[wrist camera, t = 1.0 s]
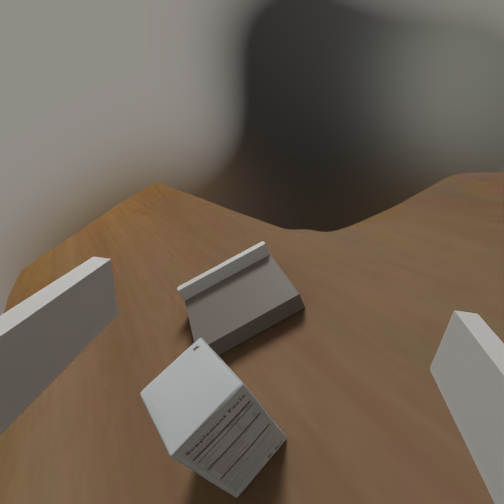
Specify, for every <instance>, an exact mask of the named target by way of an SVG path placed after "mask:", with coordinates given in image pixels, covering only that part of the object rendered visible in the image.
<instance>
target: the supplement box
mask: <svg viewBox="0 0 504 504" xmlns="http://www.w3.org/2000/svg"><path fill="white" fill-rule="evenodd" d="M140 395H141V398H142V400H143V402H144V404H145V406H146V408H147V410H148V412H149V414H150V416H151V418H152V420H153V423H154V425H155V427H156V429H157V431H158V433H159V435H160V437H161V439H162V441H163V443H164V445H165V447H166V449H167V451H168V452H169V455H170V456H171V457H172V458H174V459H176V460H177V461H179V462H180V463H182V464H183V465H185V466H186V467H188V468H190V469H191V470H193V471H194V472H196V473H197V474H199V475H200V476H202V477H203V478H205V479H207V480H208V481H210V482H211V483H213V484H214V485H216V486H218V487H219V488H221V489H222V490H224V491H226V492H227V493H229V494H231V495H232V496H234V497H235V498H238V497H239V495H240V494H241V493H242V492H243V491H244V490H245V488H246V487H247V486H248V485H249V484H250V482H251V481H252V480H253V479H254V478H255V476H256V475H257V474H258V473H259V472H260V471H261V469H262V468H263V467H264V466H265V465H266V463H267V462H268V461H269V460H270V459H271V457H272V456H273V455H274V454H275V453H276V451H277V450H278V449H279V448H280V446H281V445H282V444H283V443H284V442H285V440H286V439H287V437H286V436H285V434H284V433H283V432H282V431H281V429H280V428H279V427H278V426H277V424H276V423H275V422H274V421H273V420H272V418H271V417H270V416H269V415H268V413H267V412H266V411H265V409H264V408H263V407H262V406H261V404H260V403H259V402H258V400H257V399H256V398H255V397H254V395H253V394H252V393H251V391H250V390H249V389H248V388H247V387H246V386H245V385H244V383H243V382H242V381H241V380H240V379H239V378H238V377H237V375H236V374H235V373H234V372H233V371H232V370H231V369H230V368H229V367H228V366H227V365H226V364H225V363H224V361H223V360H222V359H221V358H220V357H219V356H218V355H217V354H216V353H215V352H214V351H213V350H212V349H211V347H210V346H209V345H208V344H207V343H206V342H205V341H204V340H203V339H202V338H199V339H198V340H197V341H196V342H195V343H194V344H192V345H191V346H190V347H189V348H188V349H187V350H186V351H185V352H184V353H182V354H181V355H180V356H179V357H178V358H177V359H176V360H175V361H174V362H173V363H172V364H171V365H169V366H168V367H167V368H166V369H165V370H164V371H163V372H162V373H161V374H160V375H158V376H157V377H156V378H155V379H154V380H153V381H152V382H151V383H150V384H149V385H148V386H146V387H145V388H144V389H143V390H142V392H141V393H140Z"/></svg>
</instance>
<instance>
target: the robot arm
mask: <svg viewBox="0 0 504 504" xmlns="http://www.w3.org/2000/svg"><path fill="white" fill-rule="evenodd" d="M117 316H118V307H117V300H116V293H115V286H114V278H113V271H112V264H111V259H107V258H100V257H92V258H91V259H89V260H87V261H86V262H84V263H83V264H81V265H80V266H78V267H76V268H75V269H73V270H72V271H70V272H69V273H67V274H65V275H64V276H62V277H61V278H59V279H57V280H56V281H54V282H53V283H51V284H50V285H48V286H46V287H45V288H43V289H42V290H40V291H38V292H37V293H35V294H34V295H32V296H31V297H29V298H27V299H26V300H24V301H23V302H21V303H19V304H18V305H16V306H15V307H13V308H12V309H10V310H8V311H7V312H5V313H4V314H2V315H0V435H1V434H2V433H3V432H4V431H5V430H6V429H7V428H8V427H9V426H10V424H11V423H12V422H13V421H14V420H15V419H16V418H17V417H18V416H19V415H20V414H21V413H22V412H23V411H24V410H25V409H26V408H27V407H28V406H29V405H30V404H31V403H32V402H33V401H34V400H35V399H36V398H37V397H38V396H39V395H40V394H41V393H42V392H43V391H44V390H45V389H46V388H47V387H48V386H49V385H50V384H51V383H52V382H53V381H54V380H55V379H56V378H57V377H58V376H59V375H60V374H61V373H62V372H63V371H64V370H65V369H66V367H67V366H68V365H69V364H70V363H71V362H72V361H73V360H74V359H75V358H76V357H77V356H78V355H79V354H80V353H81V352H82V351H83V350H84V349H85V348H86V347H87V346H88V345H89V344H90V343H91V342H92V341H93V340H94V339H95V338H96V337H97V336H98V335H99V334H100V333H101V332H102V331H103V330H104V329H105V328H106V327H107V326H108V325H109V324H110V323H111V322H112V321H113V320H114V319H115V318H116V317H117ZM430 371H431V373H432V375H433V377H434V379H435V381H436V383H437V385H438V387H439V389H440V391H441V394H442V396H443V398H444V400H445V402H446V404H447V406H448V408H449V410H450V412H451V414H452V416H453V418H454V420H455V423H456V425H457V427H458V429H459V431H460V433H461V435H462V437H463V439H464V441H465V443H466V445H467V447H468V449H469V451H470V454H471V456H472V458H473V460H474V462H475V464H476V466H477V468H478V470H479V472H480V474H481V476H482V478H483V480H484V483H485V485H486V487H487V489H488V491H489V493H490V495H491V497H492V499H493V501H494V503H495V504H504V344H503V342H502V341H501V340H500V339H499V338H498V337H497V336H496V334H495V333H494V332H493V331H492V330H491V329H490V328H489V326H488V325H487V324H486V323H485V322H484V321H483V319H482V318H481V317H480V316H479V315H478V314H475V313H469V312H462V311H455V310H454V312H453V314H452V317H451V319H450V321H449V324H448V326H447V329H446V331H445V333H444V336H443V338H442V340H441V343H440V345H439V348H438V350H437V352H436V355H435V357H434V359H433V362H432V364H431V367H430Z"/></svg>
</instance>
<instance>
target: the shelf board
mask: <svg viewBox="0 0 504 504" xmlns="http://www.w3.org/2000/svg"><path fill="white" fill-rule="evenodd" d="M177 290H178V292H179V293H180V295H181V296H182V297H183V299H184V300H185V303H186V307H187V312H188V317H189V321H190V326H191V331H192V335H193V340H194V343H195V342H196V341H197V340H198V339H199V338H202V339H203V340H204V341H205V342H206V343H207V344H208V345H209V346H210V347H211V349H212V350H213V351H214V352H215V353H216V354H217V355H218V356H219V355H221V354H223V353H224V352H226V351H228V350H230V349H232V348H233V347H235V346H237V345H239V344H241V343H242V342H244V341H246V340H248V339H250V338H251V337H253V336H255V335H257V334H259V333H260V332H262V331H264V330H266V329H268V328H269V327H271V326H273V325H275V324H276V323H278V322H280V321H282V320H284V319H285V318H287V317H289V316H291V315H293V314H294V313H296V312H298V311H300V310H302V309H303V308H305V307H304V304H303V302H302V299H301V297H300V295H299V293H298V292H297V290H296V289H295V288H294V286H293V285H292V283H291V282H290V281H289V279H288V278H287V277H286V275H285V274H284V273H283V271H282V270H281V268H280V267H279V266H278V264H277V263H276V262H275V260H274V259H273V258H272V256H271V255H270V253H269V251H268V248H267V246H266V244H265V242H264V241H262V242H260V243H258V244H256V245H255V246H253V247H251V248H249V249H247V250H245V251H243V252H242V253H240V254H238V255H236V256H234V257H232V258H231V259H229V260H227V261H225V262H223V263H221V264H219V265H218V266H216V267H214V268H212V269H210V270H208V271H206V272H205V273H203V274H201V275H199V276H197V277H195V278H193V279H192V280H190V281H188V282H186V283H184V284H182V285H180V286H179V287H177Z"/></svg>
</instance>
